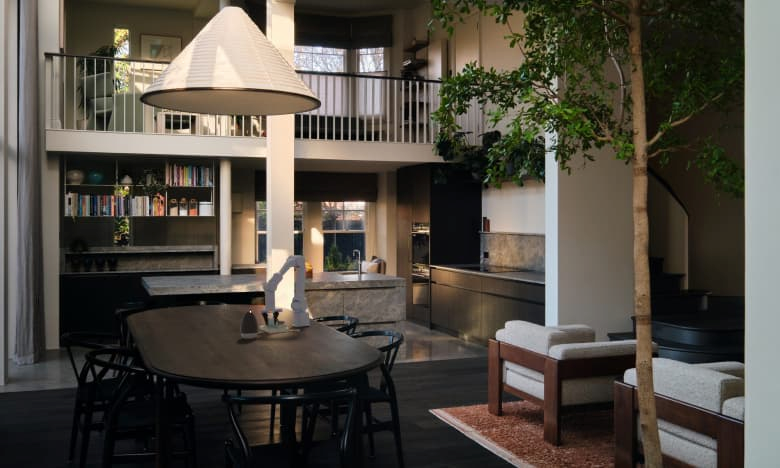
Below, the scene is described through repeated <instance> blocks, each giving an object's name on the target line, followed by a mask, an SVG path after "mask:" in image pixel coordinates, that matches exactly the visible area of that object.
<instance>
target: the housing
mask: <svg viewBox="0 0 780 468" xmlns="http://www.w3.org/2000/svg"><path fill="white" fill-rule="evenodd" d="M259 330H261V331H263V332H266V333H267V334H278V333H287V332H290V331H289V330H290V328H289V327H287V324H286V323H284V324H280V325H279V324H278V323H277V322H276V325H274V326H271V327H267V325H259Z"/></svg>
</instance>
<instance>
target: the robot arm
mask: <svg viewBox="0 0 780 468" xmlns="http://www.w3.org/2000/svg"><path fill="white" fill-rule="evenodd" d="M306 266H307V265H306V258H305V257H304V256H303V255H300V254H299V255H293V254H292V255H291V254H290V255H288V257H287V258H286V260H285V262H284V264H283V265H282V266H281V267H280V269H279V271H278V272H274V273H273V274H272V276H271V278H269V279H268V281H267V282H265V283H264V285H263V287H262V289H263V291H264V295H265V296H264V297H265V298H264V299H265V301H264V303H265V304H264V305H265V308H264V309H258V310H257V313H258V314H259V315H260V314H261V315H262V318H263V319H264V323H265V325H268V318H269V317H268V316H269V314H270V313H272V318H274V325H276V321H277V319H279V318H278V317H279V316H280V313H283V308H282V307H281V308H276V291H277V290H278V285H280V283H281V282H282V281H283V279H284V276H285V274H286V273H287V272H288V271H289V270H290V269H291V268H294V269H295V270H296V278H295V279H296V280H295V294H294V297H292V299H291V303H290V308H291V310H292V312H293V313H292V314H293V324H291V327H294V328H299V327H309V326H311V324H310V312H309V311H308V306H309V305H308V301H307V300H308V299H307V298H306V297H305V289H306V288H305V287H306V277H307V272H306V271H307V267H306Z"/></svg>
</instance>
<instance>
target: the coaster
mask: <svg viewBox="0 0 780 468" xmlns="http://www.w3.org/2000/svg"><path fill="white" fill-rule="evenodd" d="M289 332H290V333H297V332H301V330H300V329H289Z"/></svg>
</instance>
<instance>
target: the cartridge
mask: <svg viewBox="0 0 780 468" xmlns="http://www.w3.org/2000/svg"><path fill="white" fill-rule="evenodd" d="M271 326H274V318H273V316H272V317H271V316H270V317H268V325H267V327H271Z"/></svg>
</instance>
